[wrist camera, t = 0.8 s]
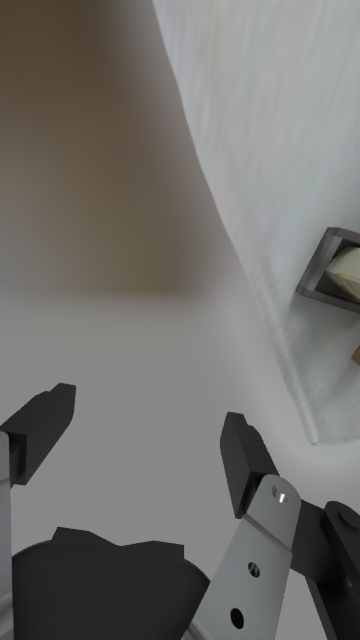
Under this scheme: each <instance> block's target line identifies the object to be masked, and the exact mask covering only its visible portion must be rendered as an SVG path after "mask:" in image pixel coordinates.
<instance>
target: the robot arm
mask: <svg viewBox="0 0 360 640" xmlns="http://www.w3.org/2000/svg"><path fill="white" fill-rule="evenodd" d="M75 394H76V386H75V385H70V384H64V383H59V384H58V385H56V386H55V387H54V388H53V389H52V390H51V391H50V392H48V391H45V392H42V393H40V394H38V395H36V396H34V397H33V398H32V399H31V400H30V401H29V402H27V404H25V405H24V406H23V407H22V408H21V409H20V410H18V411H17V412H16V413H15V414H14V415H12V416H11V417H10V418H9V419H8V420H7V421H6V422H4V423H3V424H2V425H1V426H0V640H275V635H276V630H277V625H278V621H279V616H280V612H281V607H282V602H283V598H284V593H285V588H286V583H287V579H288V574H289V569H290V568H291V569H293V570H295V571H297V572H298V573H301V574H302V575H304V576H305V579H306V581H307V584H308V587H309V589H310V592H311V595H312V598H313V601H314V603H315V606H316V609H317V612H318V615H319V617H320V620H321V623H322V626H323V628H324V631H325V634H326V637H327V639H328V640H360V515H359V514H357V513H356V512H355V511H354V510H352V509H351V508H349V507H348V506H346V505H344V504H342V503H340V502H337V501H329V502H328V503H327V504H326V506H325V508H324V509H322V508H320V507H317V506H315V505H313V504H310V503H308V502H306V501H304V500H302V499H301V498H300V496H299V494H298V492H297V490H296V489H295V488H294V487H293V486H292V485H291V484H290V483H289V482H288V481H287V480H285V479H283V478H281V477H280V475H279V473H278V471H277V469H276V467H275V465H274V463H273V461H272V459H271V457H270V454H269V452H268V451H267V448H266V446H265V444H264V442H263V440H262V438H261V436H260V434H259V433H258V432H257V430H256V429H255V428H254V427H253V426H250V425H248V424H247V422H246V420H245V418H244V415H243V414H239V413H233V412H228V413H227V415H226V419H225V423H224V427H223V430H222V434H221V438H220V450H221V455H222V459H223V464H224V468H225V473H226V478H227V482H228V487H229V491H230V496H231V501H232V505H233V510H234V514H235V518H237V519H241V521H240V523H239V525H238V527H237V529H236V531H235V533H234V535H233V537H232V539H231V541H230V543H229V545H228V548H227V549H226V551H225V554H224V556H223V558H222V560H221V562H220V564H219V566H218V568H217V570H216V572H215V575H214V576H213V578H212V580H211V581H210V580H209V579H208V578H207V576H206V575H205V574H204V573H203V572H202V571H201V570H200V569H199V568H198V567H197V566H195V565H194V564H192V563H191V562H190V561H188V560H186V559H184V545H180V544H173V543H167V542H160V541H148V542H142V543H136V544H131V545H125V546H118V545H115V544H113V543H111V542H109V541H107V540H105V539H103V538H101V537H99V536H97V535H95V534H94V533H91V532H89V531H84V530H76V529H69V528H63V527H57V529H56V531H55V533H54V535H53V538H52V540H48V541H44V542H40V543H37V544H35V545H32V546H30V547H27V548H26V549H24V550H22V551H20V552H18V553H17V554H15V555H14V556H12V554H11V504H10V489H11V488H12V487H13V485H14V484H18V485H26V484H27V483H28V481H29V480H30V478H31V477H32V475H33V474H34V473H35V472H36V470H37V469H38V467H39V466H40V465H41V463H42V462H43V460H44V459H45V458H46V456H47V455H48V453H49V452H50V451H51V449H52V448H53V446H54V445H55V443H56V442H57V441H58V440H59V438H60V437H61V435H62V434H63V433H64V431H65V430H66V428H67V427H68V426H69V424H70V422H71V420H72V417H73V414H74V405H75Z"/></svg>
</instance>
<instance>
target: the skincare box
mask: <svg viewBox="0 0 360 640" xmlns="http://www.w3.org/2000/svg"><path fill="white" fill-rule="evenodd" d="M324 273H325V274H326V275H327V276H328V277H329V278H330V279H331V280H332V281H333V282H334V283H335V284H336V285H337V286H338V287H339V288H340V289H341V290H342V291H343V292H344V293H346V294H347V295H348V296H350V297H352V298H354V299H356V300H358V301H359V302H360V248H357V247H351V246H346V247H345V248H344V249H343V250H342V251H340V252H339V253H338V254H337V255H336V256H335V257H334V258H332V259H331V260H330V262H329V264H328V266H327V268H326V269H325V271H324Z"/></svg>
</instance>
